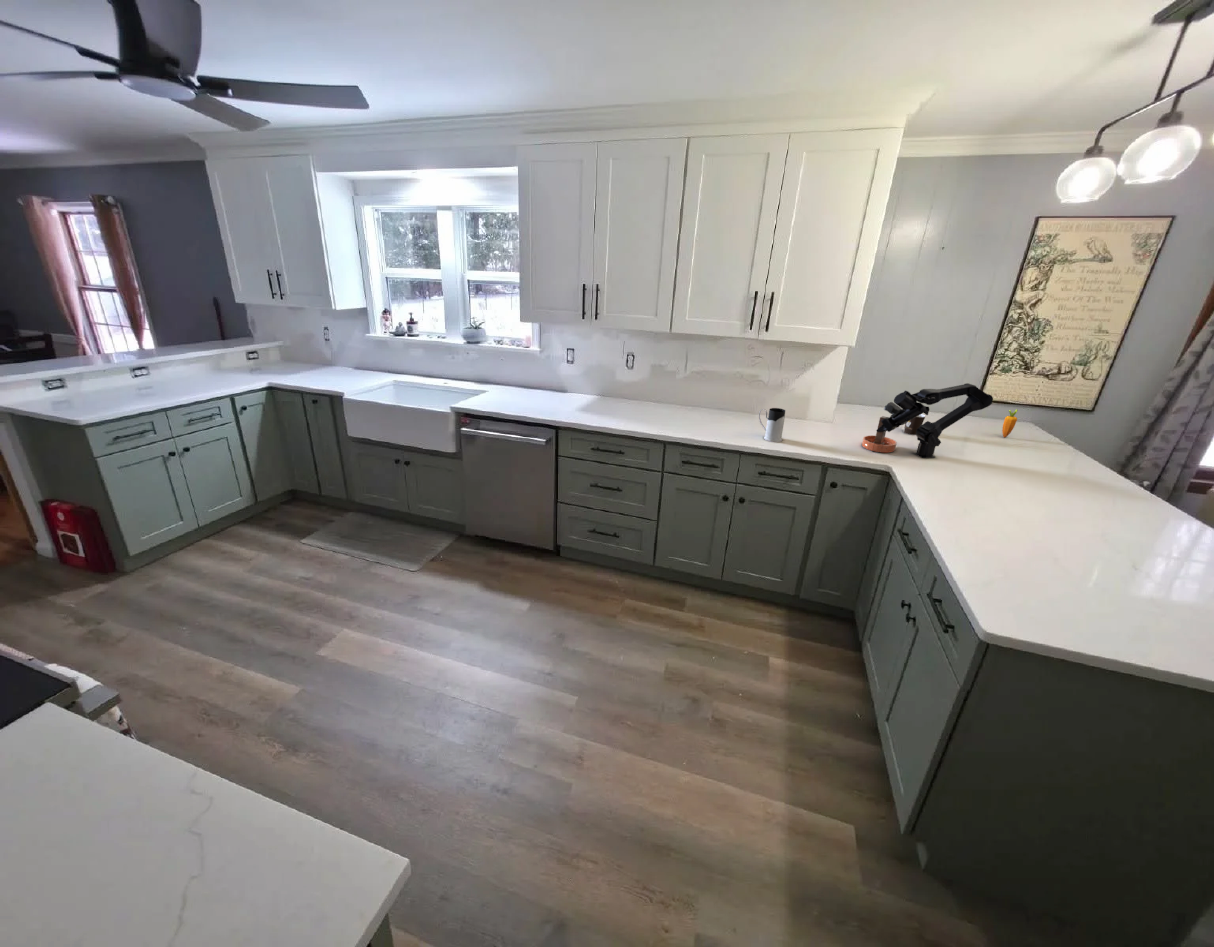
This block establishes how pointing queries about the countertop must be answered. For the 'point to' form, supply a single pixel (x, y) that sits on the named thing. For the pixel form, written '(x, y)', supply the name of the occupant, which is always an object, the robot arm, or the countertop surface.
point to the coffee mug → (914, 424)
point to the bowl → (885, 448)
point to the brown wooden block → (880, 433)
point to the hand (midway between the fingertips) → (878, 430)
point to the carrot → (1009, 423)
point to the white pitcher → (774, 424)
